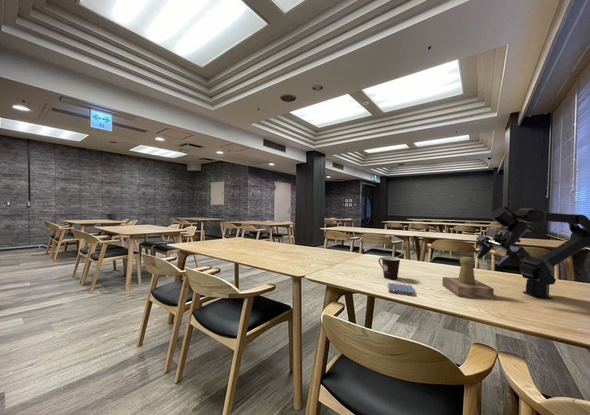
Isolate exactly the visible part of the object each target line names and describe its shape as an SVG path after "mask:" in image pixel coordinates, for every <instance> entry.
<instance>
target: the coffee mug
mask: <svg viewBox="0 0 590 415" xmlns="http://www.w3.org/2000/svg"><path fill="white" fill-rule="evenodd" d="M400 262H401V259H400V258H399V257H396V256H391V255H390V256H388V255H387V256H385V255H384V256H381V257H380V258H379V259H378V264H379V265H380V266H381V268H382V271H383V278H384V279H386V280H391V281H392V280H393V281H396V280H398V275H399V269H400ZM381 263H382V264H381Z"/></svg>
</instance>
